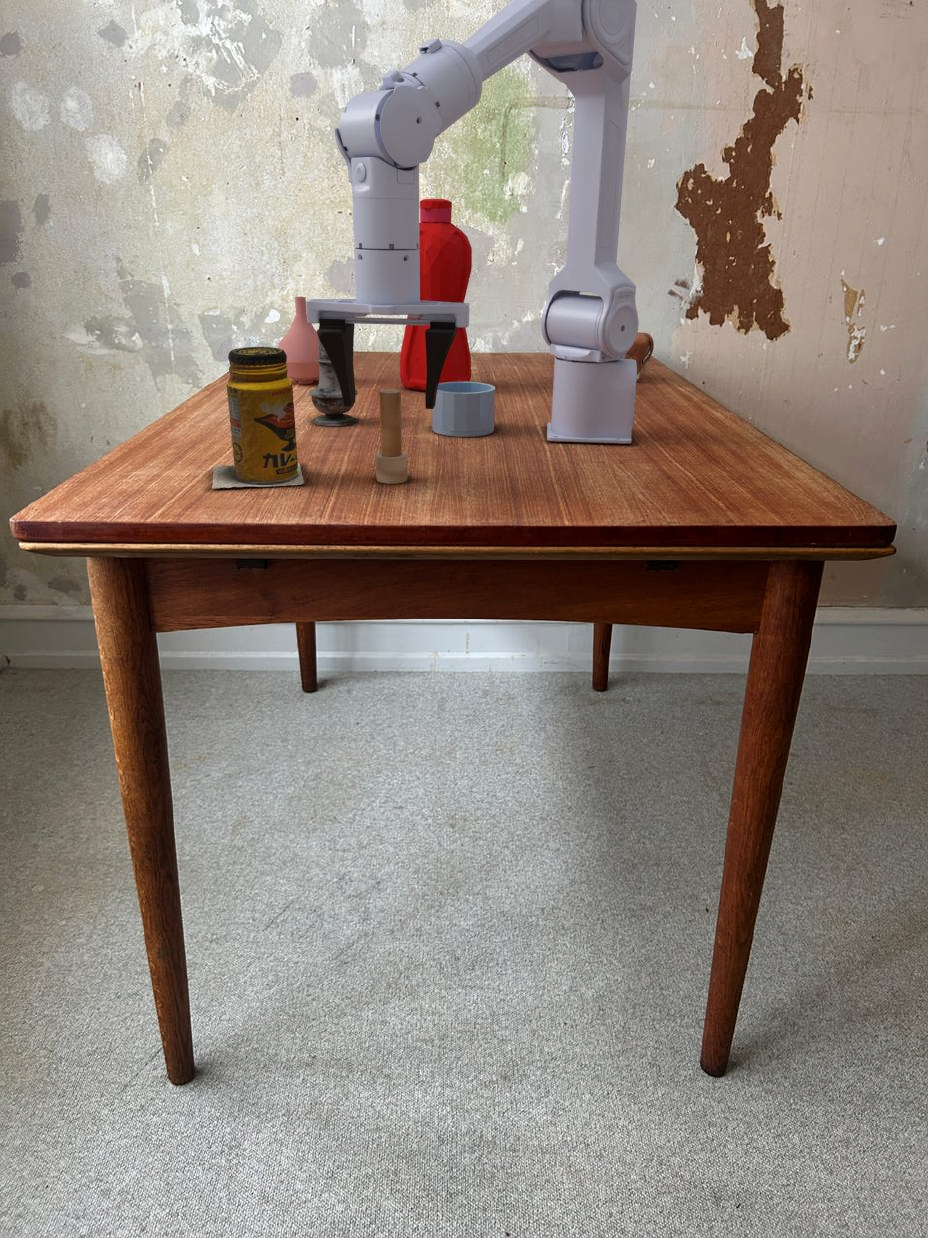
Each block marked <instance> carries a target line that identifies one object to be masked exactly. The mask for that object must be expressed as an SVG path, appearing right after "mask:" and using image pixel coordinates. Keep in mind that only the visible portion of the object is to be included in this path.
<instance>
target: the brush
mask: <svg viewBox="0 0 928 1238" xmlns="http://www.w3.org/2000/svg"><path fill="white" fill-rule="evenodd" d="M378 392H379V393H378V395H379V396H378V399H379V428H380V429H379V432H380V436H379V437H380V451H378V452H376V453H375V477H376V478H375V479H376V481H377V482H379V483H381V484H388V485H397V484H402V483H405V482H407V481H408V453H406V452H405V451H403V448H402V447H403V446H402V445H403V444H402V443H403V442H402V391H401V389H400V390H399V389H396V388H386V389H381V390H380V389H379V391H378Z"/></svg>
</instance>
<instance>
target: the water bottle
mask: <svg viewBox="0 0 928 1238" xmlns="http://www.w3.org/2000/svg"><path fill="white" fill-rule="evenodd" d="M452 208H453V202H452V201H451V200H449V199H446V198H424V199H421V200H419V248H417V249H420V300H422V301H438V302H454V303H465V299H466V295H467V291H468V286H469V282H470V278H471V274H472V269H473V268H472V267H473V248H472V245H471V243H470V240H469V238H468V237H469V236H467V235H466V233H465V232H464V231H463V230H461V228H459V227H457V226H456V225H455V224H453V223H452V212H453V211H452V210H453V209H452ZM407 319H421V318H409V317H408V316H407ZM429 328H430V326H427V325H405V327H404V332H403V338H402V342H401V343H402V344H401V349H400V354H399V378H400V382H401V384H402V386H404V387H405V388H406V389H410V390H416V391H423V392H426V380H427V361H426V342H425V331H426V330H427V329H429ZM457 328H458V331H457V334H456V336H455V338H454V340H453V343H452V345H451V347H450V350H449V352H448V355H447V358H446V360H445V363H444V366H443V369H442V373H441V376H440V380H439V383H445V382H459V381H460V382H461V381H462V382H471V378H472V355H471V350H470V345H469V339H468V334H467V328H460V327H457Z"/></svg>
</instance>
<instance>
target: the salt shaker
mask: <svg viewBox="0 0 928 1238" xmlns="http://www.w3.org/2000/svg"><path fill="white" fill-rule="evenodd" d="M318 341H319V358H317V359H316V361H317V362H318V363H319V371H320V377H319V378H318V379H319V380H318V384H317V386H316V387H315V388H314V389H310V391H308V395H309V396H311V403H312V405H313V406H314V408H315V409H316V410H317V411H318V412H319V413H322V414H321V415H320V414H319V415H317V416H316V417H315V418H314V419H313V420H312V423H313V424H314V425H317V426H321V427H346V426H350V425H354V424H356V423H357V419H356V418H355V417H353V416H352V415H349V414H345V413H349V412H350V411H351V409H352V408H353V407H354V405H355V403H354V404H353V405H352V406H344V403H343V398H342V393H341V389H340V386H339V382H338V379H337V376H336V373H335V371H334V368H333V366H332V363H331V361H330V359H329V357H328V355H327V353H326V351H325V349H324V347H323V345H322V344H321V342H320V340H319V338H318ZM358 393H359V392H358V390H356V389H355V396H357V395H358Z"/></svg>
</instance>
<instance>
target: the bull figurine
mask: <svg viewBox="0 0 928 1238" xmlns="http://www.w3.org/2000/svg"><path fill="white" fill-rule="evenodd" d="M654 345H655V342H654V338H653V337H652V335H651V334H650V333H649V332H640V331H639V332H637V336H636V339H635V341H634V343H633V345H632V347H631V348H630V350H629V351H628V352H627V353H626V354H625V358H624V359H632V360H636V364H637V380H636V382H637V381H638V380H640V375H641V372H642V373H645V372H646V371H647V369H648V367H649V364H650V361H651V357H652V355H653V353H654V348H655V346H654ZM645 358H646V359H645Z"/></svg>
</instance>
